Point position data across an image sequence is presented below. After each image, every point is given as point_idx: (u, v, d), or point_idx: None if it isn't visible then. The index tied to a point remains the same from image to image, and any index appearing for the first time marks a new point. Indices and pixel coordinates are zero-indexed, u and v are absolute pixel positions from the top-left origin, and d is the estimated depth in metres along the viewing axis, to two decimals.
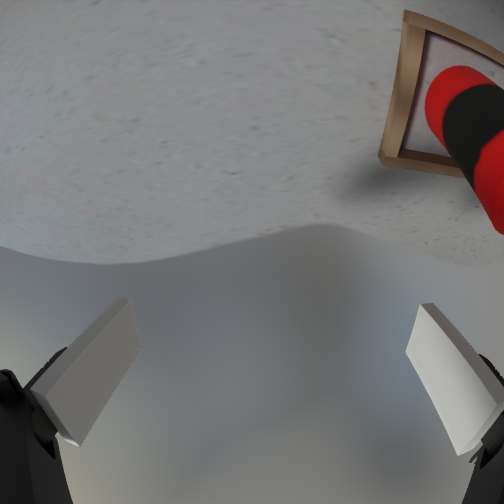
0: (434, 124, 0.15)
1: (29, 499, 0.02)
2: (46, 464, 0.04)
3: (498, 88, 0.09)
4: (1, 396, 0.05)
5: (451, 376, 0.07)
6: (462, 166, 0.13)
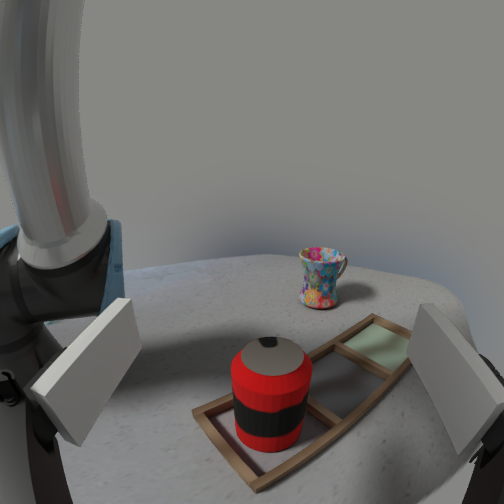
0: (252, 441, 0.24)
1: (29, 499, 0.02)
2: (46, 464, 0.04)
3: None
4: (1, 396, 0.05)
5: (451, 376, 0.07)
6: (258, 421, 0.22)
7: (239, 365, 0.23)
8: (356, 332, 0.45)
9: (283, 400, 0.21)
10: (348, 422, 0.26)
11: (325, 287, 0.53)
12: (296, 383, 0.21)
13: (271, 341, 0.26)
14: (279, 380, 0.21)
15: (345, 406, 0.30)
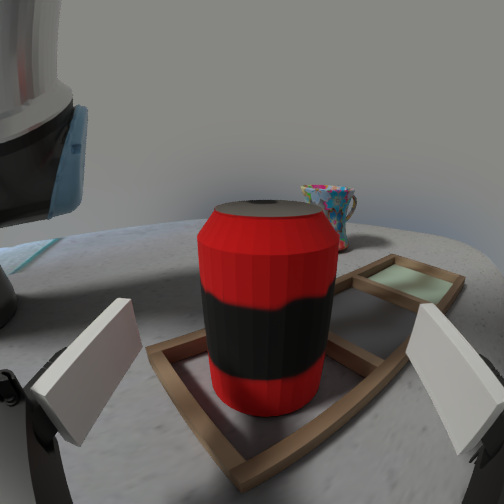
0: (237, 393, 0.14)
1: (29, 499, 0.02)
2: (46, 464, 0.04)
3: None
4: (1, 396, 0.05)
5: (451, 376, 0.07)
6: (244, 337, 0.13)
7: (210, 219, 0.14)
8: (377, 270, 0.35)
9: (292, 274, 0.12)
10: (394, 363, 0.17)
11: (333, 224, 0.44)
12: (315, 239, 0.12)
13: (266, 201, 0.16)
14: (283, 226, 0.12)
15: (382, 347, 0.20)
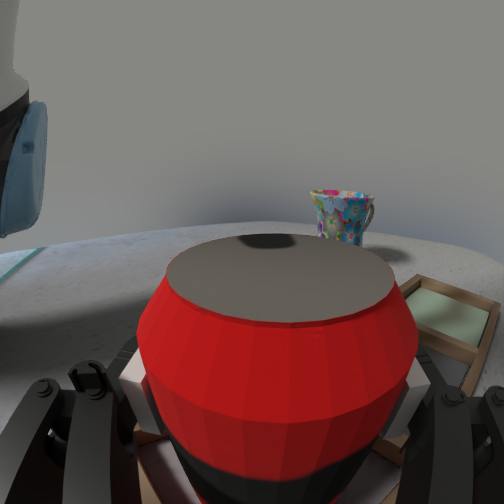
0: None
1: None
2: (125, 464, 0.05)
3: None
4: (82, 387, 0.06)
5: None
6: (233, 494, 0.05)
7: (157, 294, 0.06)
8: None
9: (334, 440, 0.04)
10: None
11: (349, 238, 0.36)
12: (391, 360, 0.04)
13: (275, 239, 0.09)
14: (324, 346, 0.04)
15: None
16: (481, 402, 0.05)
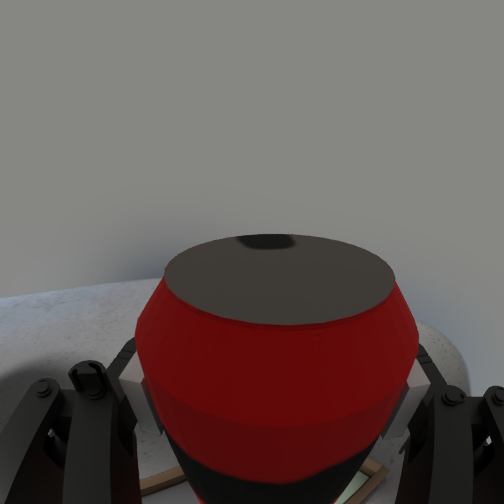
0: None
1: None
2: (125, 464, 0.05)
3: None
4: (82, 387, 0.06)
5: None
6: (232, 496, 0.05)
7: (155, 295, 0.06)
8: None
9: (334, 443, 0.04)
10: None
11: None
12: (391, 363, 0.04)
13: (275, 240, 0.09)
14: (323, 349, 0.04)
15: None
16: (481, 402, 0.05)
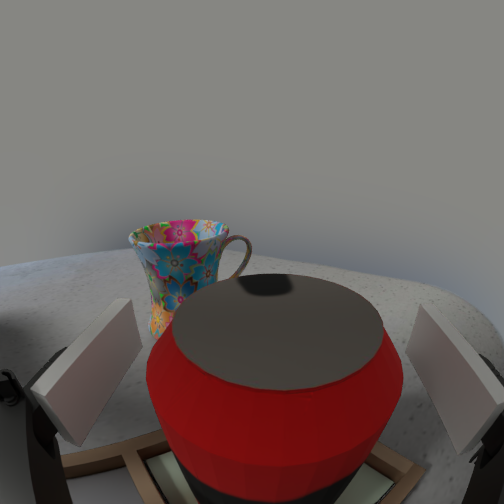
0: None
1: (29, 499, 0.02)
2: (46, 464, 0.04)
3: None
4: (1, 396, 0.05)
5: (451, 376, 0.07)
6: None
7: (164, 346, 0.07)
8: None
9: (322, 474, 0.04)
10: None
11: (178, 303, 0.23)
12: (373, 412, 0.05)
13: (274, 282, 0.09)
14: (314, 407, 0.05)
15: None
16: None
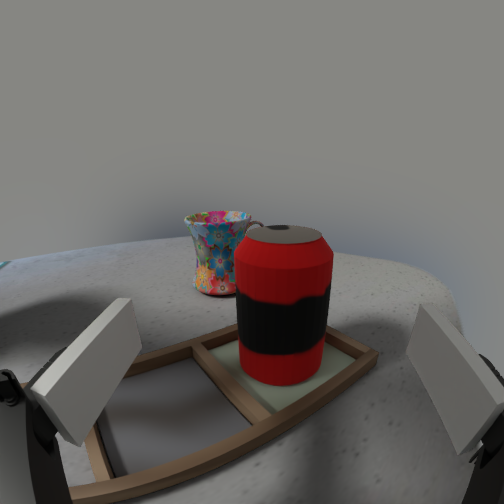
0: (261, 367, 0.21)
1: (29, 499, 0.02)
2: (46, 464, 0.04)
3: None
4: (1, 396, 0.05)
5: (451, 376, 0.07)
6: (269, 323, 0.19)
7: (244, 243, 0.20)
8: None
9: (301, 281, 0.18)
10: (116, 488, 0.10)
11: (218, 263, 0.37)
12: (316, 257, 0.18)
13: (281, 227, 0.23)
14: (295, 250, 0.18)
15: (146, 458, 0.14)
16: None
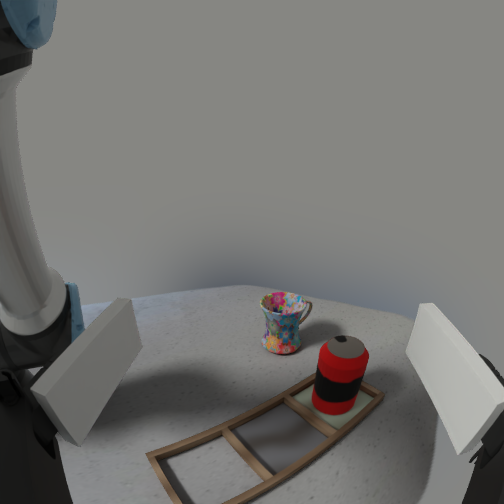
0: (328, 407, 0.37)
1: (29, 499, 0.02)
2: (46, 464, 0.04)
3: None
4: (1, 396, 0.05)
5: (451, 376, 0.07)
6: (337, 390, 0.35)
7: (327, 354, 0.36)
8: (311, 383, 0.45)
9: (355, 373, 0.34)
10: (278, 479, 0.26)
11: (285, 335, 0.53)
12: (362, 362, 0.34)
13: (342, 338, 0.39)
14: (354, 360, 0.34)
15: (281, 461, 0.30)
16: None
